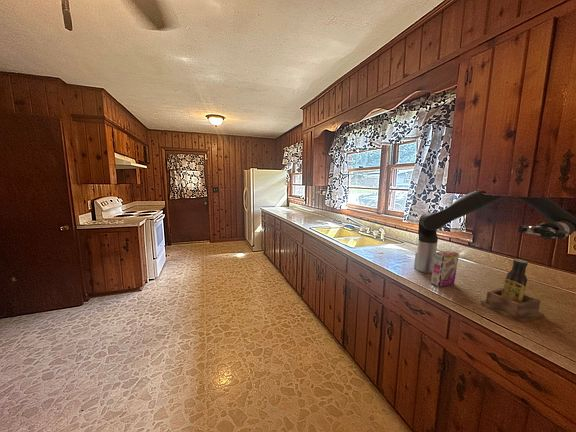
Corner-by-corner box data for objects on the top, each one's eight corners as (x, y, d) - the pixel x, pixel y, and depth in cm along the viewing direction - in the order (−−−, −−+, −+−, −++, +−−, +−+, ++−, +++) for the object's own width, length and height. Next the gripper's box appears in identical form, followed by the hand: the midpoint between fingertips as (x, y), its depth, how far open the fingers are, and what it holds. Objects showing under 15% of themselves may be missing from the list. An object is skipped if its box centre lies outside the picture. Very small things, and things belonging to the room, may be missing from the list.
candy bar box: (439, 287, 115) (443, 255, 112) (430, 283, 120) (433, 252, 117) (455, 284, 119) (459, 252, 116) (445, 280, 124) (449, 249, 121)
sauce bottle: (496, 304, 99) (504, 258, 95) (504, 301, 101) (512, 256, 98) (516, 312, 93) (525, 264, 89) (524, 309, 95) (534, 261, 92)
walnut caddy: (480, 303, 101) (482, 290, 100) (500, 298, 106) (503, 285, 105) (522, 322, 88) (525, 307, 87) (543, 315, 93) (546, 301, 92)
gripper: (533, 219, 112) (513, 221, 107) (578, 225, 99) (557, 227, 94) (530, 234, 114) (510, 237, 108) (574, 242, 101) (554, 245, 95)
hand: (532, 232), depth 101 cm, fingers open, 8 cm apart
